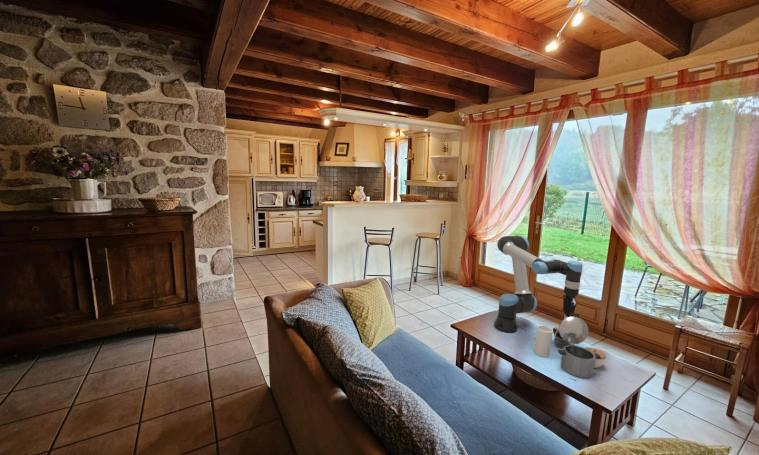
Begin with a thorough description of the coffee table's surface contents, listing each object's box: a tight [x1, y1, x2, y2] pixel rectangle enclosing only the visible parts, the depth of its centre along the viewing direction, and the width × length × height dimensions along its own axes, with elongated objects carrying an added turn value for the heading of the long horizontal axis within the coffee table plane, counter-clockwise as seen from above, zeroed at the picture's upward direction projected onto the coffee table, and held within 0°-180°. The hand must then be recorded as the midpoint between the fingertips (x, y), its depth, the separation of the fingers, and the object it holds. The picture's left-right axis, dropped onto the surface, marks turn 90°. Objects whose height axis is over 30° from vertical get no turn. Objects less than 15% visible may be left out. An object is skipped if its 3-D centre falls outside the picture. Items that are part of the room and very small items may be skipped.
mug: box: [552, 326, 571, 349], centre depth 202 cm, size 10×12×10 cm
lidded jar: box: [585, 346, 607, 369], centre depth 182 cm, size 11×11×9 cm
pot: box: [557, 344, 601, 379], centre depth 177 cm, size 16×21×10 cm
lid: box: [558, 312, 589, 345], centre depth 183 cm, size 17×15×2 cm
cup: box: [533, 324, 554, 358], centre depth 191 cm, size 8×8×16 cm
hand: (566, 324), depth 193 cm, fingers closed
